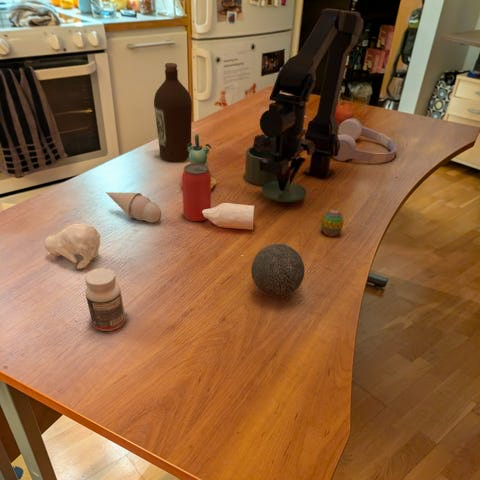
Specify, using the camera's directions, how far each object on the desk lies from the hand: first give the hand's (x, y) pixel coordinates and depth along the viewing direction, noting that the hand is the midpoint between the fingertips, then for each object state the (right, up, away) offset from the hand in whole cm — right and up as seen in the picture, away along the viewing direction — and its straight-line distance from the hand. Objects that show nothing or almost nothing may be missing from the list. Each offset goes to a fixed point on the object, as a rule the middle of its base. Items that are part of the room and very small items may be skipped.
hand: (284, 188), depth 118 cm
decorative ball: (-4, -28, -28) cm, 40 cm away
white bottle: (-14, -12, -9) cm, 21 cm away
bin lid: (0, -1, +1) cm, 1 cm away
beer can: (-22, -9, -6) cm, 24 cm away
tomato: (+24, +37, +49) cm, 66 cm away
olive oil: (-31, +16, +22) cm, 41 cm away
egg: (+10, -13, -10) cm, 19 cm away
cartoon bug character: (-23, +2, +6) cm, 24 cm away
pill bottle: (-35, -34, -36) cm, 61 cm away
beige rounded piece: (-46, -21, -22) cm, 55 cm away
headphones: (+28, +20, +31) cm, 47 cm away
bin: (-5, +6, +12) cm, 15 cm away
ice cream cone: (-37, -9, -7) cm, 39 cm away
